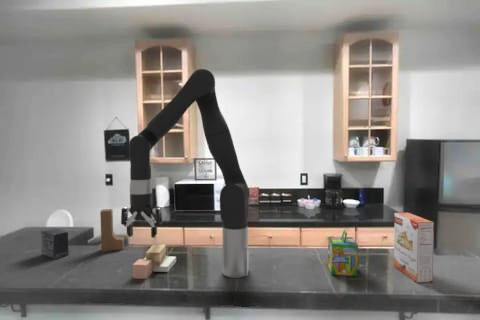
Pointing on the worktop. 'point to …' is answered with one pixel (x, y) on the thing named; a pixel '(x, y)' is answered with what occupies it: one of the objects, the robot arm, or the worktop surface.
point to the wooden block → (109, 232)
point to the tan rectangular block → (156, 254)
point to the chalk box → (342, 255)
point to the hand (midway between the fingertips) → (141, 236)
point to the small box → (54, 243)
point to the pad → (165, 264)
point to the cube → (142, 268)
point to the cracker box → (414, 246)
